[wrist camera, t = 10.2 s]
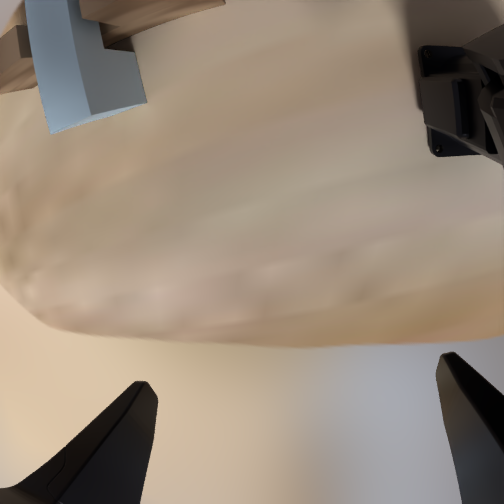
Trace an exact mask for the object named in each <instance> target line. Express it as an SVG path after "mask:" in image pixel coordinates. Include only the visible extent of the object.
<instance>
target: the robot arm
mask: <svg viewBox="0 0 504 504" xmlns="http://www.w3.org/2000/svg"><path fill="white" fill-rule="evenodd" d="M425 50H427V51H428V52H429V54H430V57H429V58H427V57H426V56H425V54H424V53H425ZM418 57H419V63H420V68H421V75H422V78H421V79H420V81H419V84H420V91H421V98H422V106H423V115H424V123H425V124H426V125H427V126H428V134H429V148H430V151H431V153H432V154H433V155H435V156H437V157H449V156H465V155H484V156H486V157H488V158H490V159H492V160H494V161H496V162H497V163H499V164H501V165H503V168H504V24H503V25H501V26H499V27H497V28H495V29H493V30H491V31H490V32H488V33H486V34H484V35H482V36H480V37H478V38H477V39H475V40H473V41H471V42H469V43H468V44H466V45H464V46H463V47H449V46H431V45H426V46H421V47H420V48H419V50H418ZM437 145H440V150H439V151H436V146H437ZM436 381H437V386H438V391H439V397H440V403H441V409H442V414H443V421H444V425H445V429H446V433H447V436H448V440H449V444H450V448H451V452H452V457H453V461H454V465H455V470H456V474H457V479H458V484H459V489H460V494H461V500H462V504H504V395H503V394H502V393H501V392H499V391H498V390H497V389H496V388H495V387H494V386H493V385H492V384H491V383H490V382H488V381H487V380H486V379H485V378H484V377H483V376H482V375H480V374H479V373H478V372H477V371H476V370H475V369H474V368H473V367H471V366H470V365H469V364H468V363H467V362H466V361H465V360H463V359H462V358H461V357H460V356H459V355H457V354H456V353H455V352H448V353H444V354H442V355H441V356H440V359H439V363H438V366H437V370H436ZM157 407H158V398H157V395H156V394H155V392H154V391H153V389H152V388H151V386H150V385H149V383H148V382H146V381H135V382H134V383H132V384H131V385H130V386H129V387H128V388H127V389H126V390H125V391H124V392H123V393H122V394H121V395H120V396H119V397H117V398H116V399H115V400H114V401H113V402H112V403H111V404H110V405H109V406H108V407H107V408H106V409H105V410H104V411H102V412H101V413H100V414H99V415H98V416H97V417H96V418H95V419H94V420H93V421H92V422H91V423H90V424H89V425H88V426H87V427H85V428H84V429H83V430H82V431H81V432H80V433H79V434H78V435H77V436H76V437H74V438H73V439H72V440H71V441H70V442H69V443H68V444H67V445H66V447H64V448H63V449H61V450H60V451H59V452H58V453H57V454H56V455H55V456H53V457H52V458H51V459H50V460H49V461H48V462H46V463H45V464H44V465H43V466H41V467H40V468H39V469H37V470H36V471H35V472H33V473H32V474H30V475H29V476H28V477H26V478H25V479H24V480H23V481H21V482H19V483H18V484H16V485H14V486H12V487H8V488H0V504H140V501H141V495H142V491H143V486H144V481H145V477H146V472H147V468H148V463H149V458H150V454H151V450H152V445H153V440H154V433H155V424H156V415H157Z"/></svg>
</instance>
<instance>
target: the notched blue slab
mask: <svg viewBox="0 0 504 504" xmlns="http://www.w3.org/2000/svg"><path fill="white" fill-rule="evenodd" d="M25 9H26V18H27V26H28V33H29V40H30V46H31V52H32V58H33V63H34V68H35V73H36V78H37V83H38V87H39V92H40V96H41V100H42V104H43V108H44V112H45V116H46V120H47V124H48V127H49V131H50V134H54V133H57V132H60V131H63V130H66V129H69V128H72V127H75V126H78V125H82V124H85V123H88V122H92V121H95V120H99V119H102V118H106V117H109V116H113V115H115V114H118V113H121V112H123V111H126V110H129V109H131V108H134V107H137V106H140V105H142V104H145V103H147V100H146V96H145V92H144V89H143V85H142V81H141V77H140V73H139V69H138V64H137V60H136V56H135V52H128V51H119V50H110V49H104V46H103V41H102V37H101V32H100V27H99V22H97V21H92V20H87V19H82V15H81V9H80V3H79V0H25Z"/></svg>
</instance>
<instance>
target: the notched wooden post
mask: <svg viewBox="0 0 504 504" xmlns="http://www.w3.org/2000/svg"><path fill="white" fill-rule="evenodd" d="M79 3H80V9H81V15H82V19H87V20H92V21H97V22H99V27H100V32H101V37H102V41H103V46H104V48H105V47H107V46H109V45H111V44H114V43H116V42H118V41H120V40H122V39H125V38H127V37H129V36H132V35H134V34H137V33H139V32H141V31H144V30H146V29H149V28H152V27H154V26H157V25H160V24H162V23H165V22H168V21H171V20H174V19H177V18H180V17H183V16H186V15H189V14H192V13H196V12H199V11H203V10H206V9H210V8H213V7H217V6H221V5H225V0H79ZM37 85H38V83H37V78H36V73H35V68H34V63H33V58H32V52H31V46H30V40H29V33H28V26H24V25H16V26H14V27H13V28H12V29H11V30H9V31H8V32H7V33H6V34H5V35H3V36H2V37H1V38H0V94H4V93H9V92H14V91H19V90H25V89H31V88H34V87H35V86H37Z"/></svg>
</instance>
